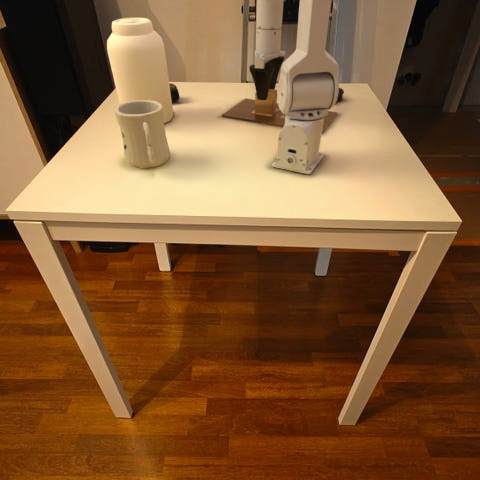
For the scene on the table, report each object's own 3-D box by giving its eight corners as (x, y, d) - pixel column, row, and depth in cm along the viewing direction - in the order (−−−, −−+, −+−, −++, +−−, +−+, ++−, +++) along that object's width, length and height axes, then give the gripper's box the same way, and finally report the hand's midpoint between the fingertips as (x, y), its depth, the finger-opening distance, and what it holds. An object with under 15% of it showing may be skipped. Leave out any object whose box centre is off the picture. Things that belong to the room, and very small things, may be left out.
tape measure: (155, 106, 97) (152, 90, 94) (153, 98, 102) (151, 83, 99) (180, 104, 98) (178, 88, 95) (177, 96, 103) (176, 81, 100)
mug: (123, 153, 76) (110, 102, 69) (165, 147, 78) (157, 96, 71) (132, 180, 68) (119, 125, 60) (179, 172, 70) (172, 118, 63)
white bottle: (136, 132, 84) (114, 27, 70) (115, 117, 91) (91, 18, 77) (183, 120, 89) (171, 20, 75) (159, 106, 96) (145, 13, 82)
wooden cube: (272, 114, 90) (273, 94, 87) (254, 112, 91) (255, 92, 88) (276, 108, 93) (277, 88, 90) (259, 107, 94) (260, 87, 91)
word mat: (321, 133, 83) (321, 131, 82) (221, 116, 91) (221, 114, 90) (337, 114, 91) (337, 111, 91) (245, 100, 100) (245, 98, 99)
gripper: (278, 34, 74) (274, 105, 84) (293, 22, 84) (288, 87, 93) (245, 32, 76) (245, 102, 85) (264, 21, 85) (262, 85, 95)
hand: (266, 94), depth 89 cm, fingers open, 7 cm apart
